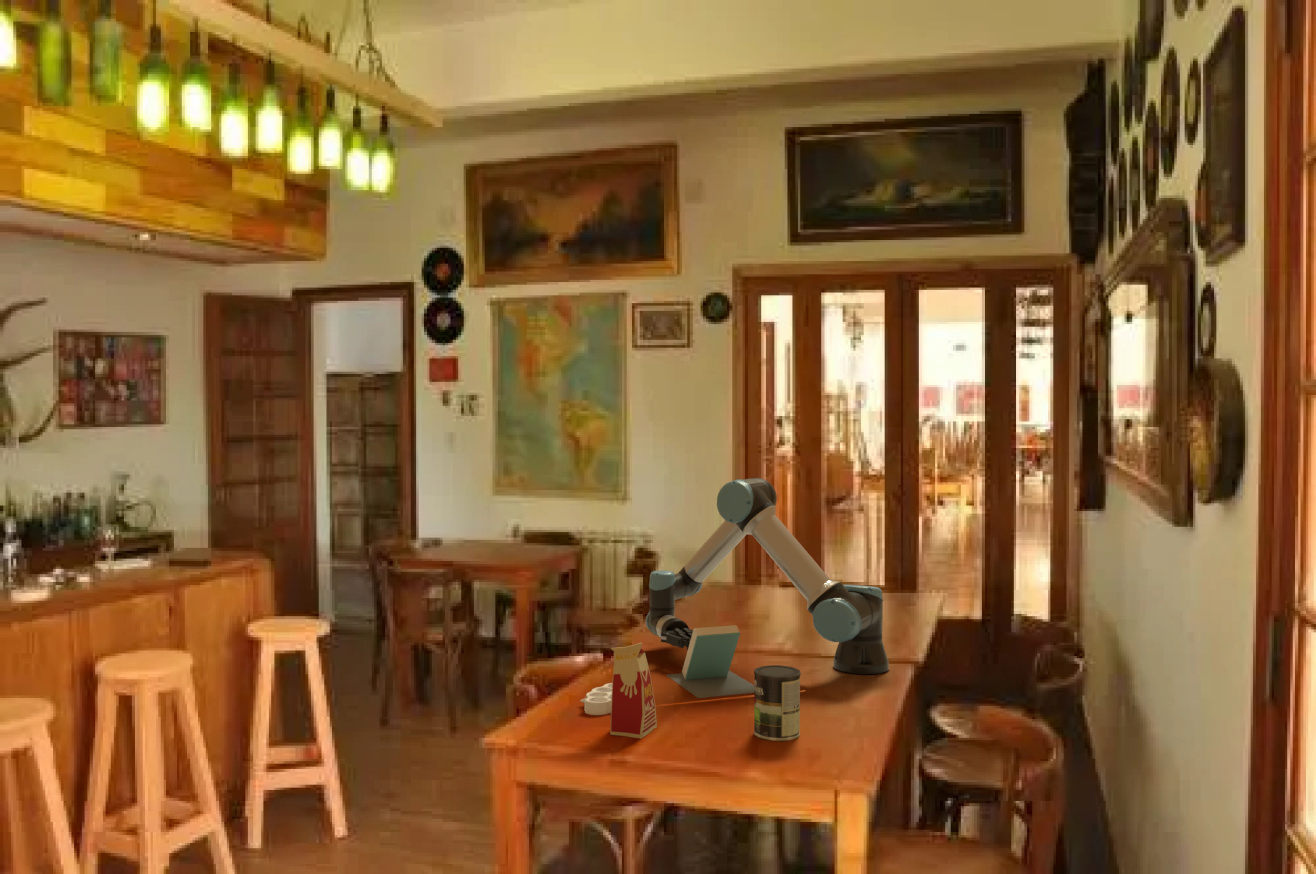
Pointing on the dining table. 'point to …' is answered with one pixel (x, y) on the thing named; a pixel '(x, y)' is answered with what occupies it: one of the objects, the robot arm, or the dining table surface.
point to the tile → (710, 652)
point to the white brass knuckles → (598, 700)
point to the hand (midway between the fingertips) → (702, 648)
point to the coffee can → (777, 702)
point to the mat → (714, 685)
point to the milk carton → (632, 694)
